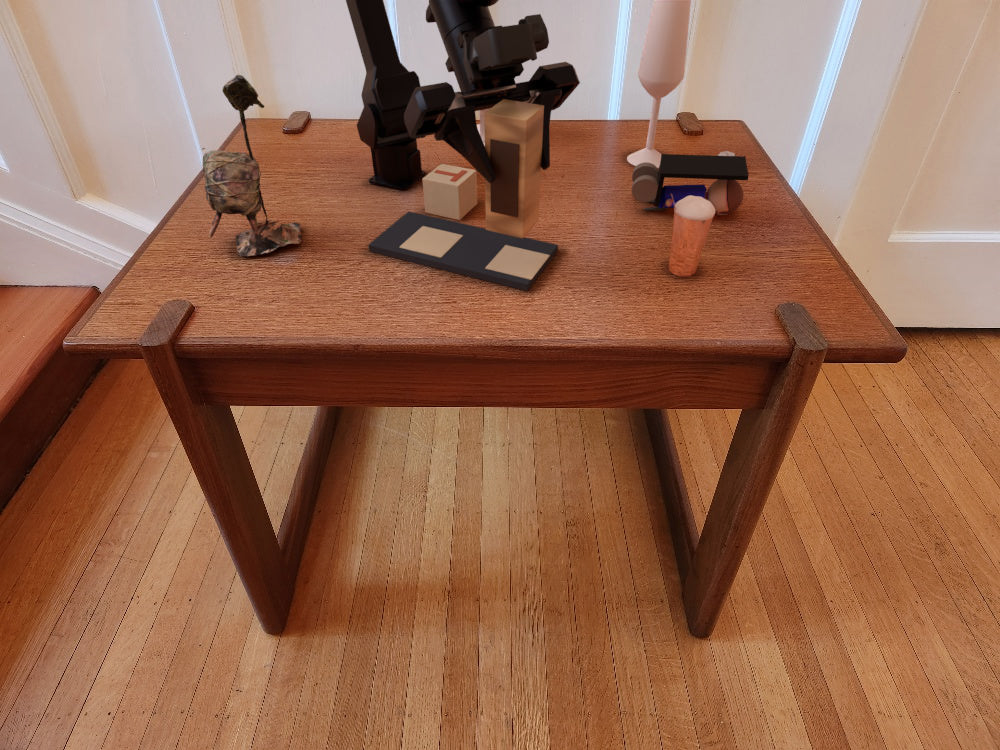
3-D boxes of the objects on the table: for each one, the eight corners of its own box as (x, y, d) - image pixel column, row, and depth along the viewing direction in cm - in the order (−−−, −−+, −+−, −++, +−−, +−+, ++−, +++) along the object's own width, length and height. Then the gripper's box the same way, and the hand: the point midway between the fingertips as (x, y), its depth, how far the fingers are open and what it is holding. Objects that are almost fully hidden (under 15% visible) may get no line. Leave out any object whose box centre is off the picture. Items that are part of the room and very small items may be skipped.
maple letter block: (485, 230, 72) (483, 113, 64) (502, 212, 75) (503, 98, 67) (522, 239, 71) (526, 120, 62) (538, 220, 74) (544, 105, 65)
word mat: (369, 251, 82) (367, 243, 81) (409, 217, 89) (408, 210, 88) (527, 291, 75) (528, 283, 74) (557, 251, 82) (558, 243, 81)
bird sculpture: (222, 230, 86) (171, 72, 73) (308, 225, 87) (273, 68, 74) (209, 262, 80) (151, 95, 67) (302, 256, 81) (263, 90, 68)
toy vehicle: (630, 225, 90) (743, 224, 86) (631, 173, 85) (751, 169, 82) (631, 204, 95) (738, 201, 91) (632, 154, 90) (745, 149, 87)
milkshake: (652, 261, 80) (665, 185, 73) (694, 259, 80) (711, 183, 74) (662, 281, 76) (677, 203, 70) (705, 278, 77) (725, 201, 70)
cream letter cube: (425, 212, 90) (422, 177, 86) (443, 196, 93) (441, 162, 90) (459, 220, 88) (458, 185, 85) (477, 203, 92) (476, 169, 88)
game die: (732, 168, 101) (737, 149, 99) (736, 178, 98) (741, 159, 96) (710, 167, 101) (714, 148, 99) (713, 177, 98) (717, 158, 96)
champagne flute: (677, 162, 103) (709, -10, 87) (647, 172, 100) (674, -4, 84) (648, 148, 107) (673, -18, 91) (618, 157, 104) (638, -13, 88)
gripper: (403, -6, 57) (463, 159, 57) (577, -26, 64) (630, 122, 64) (381, 65, 67) (432, 205, 67) (533, 42, 74) (579, 169, 74)
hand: (519, 174), depth 68 cm, fingers closed on maple letter block, 6 cm apart
